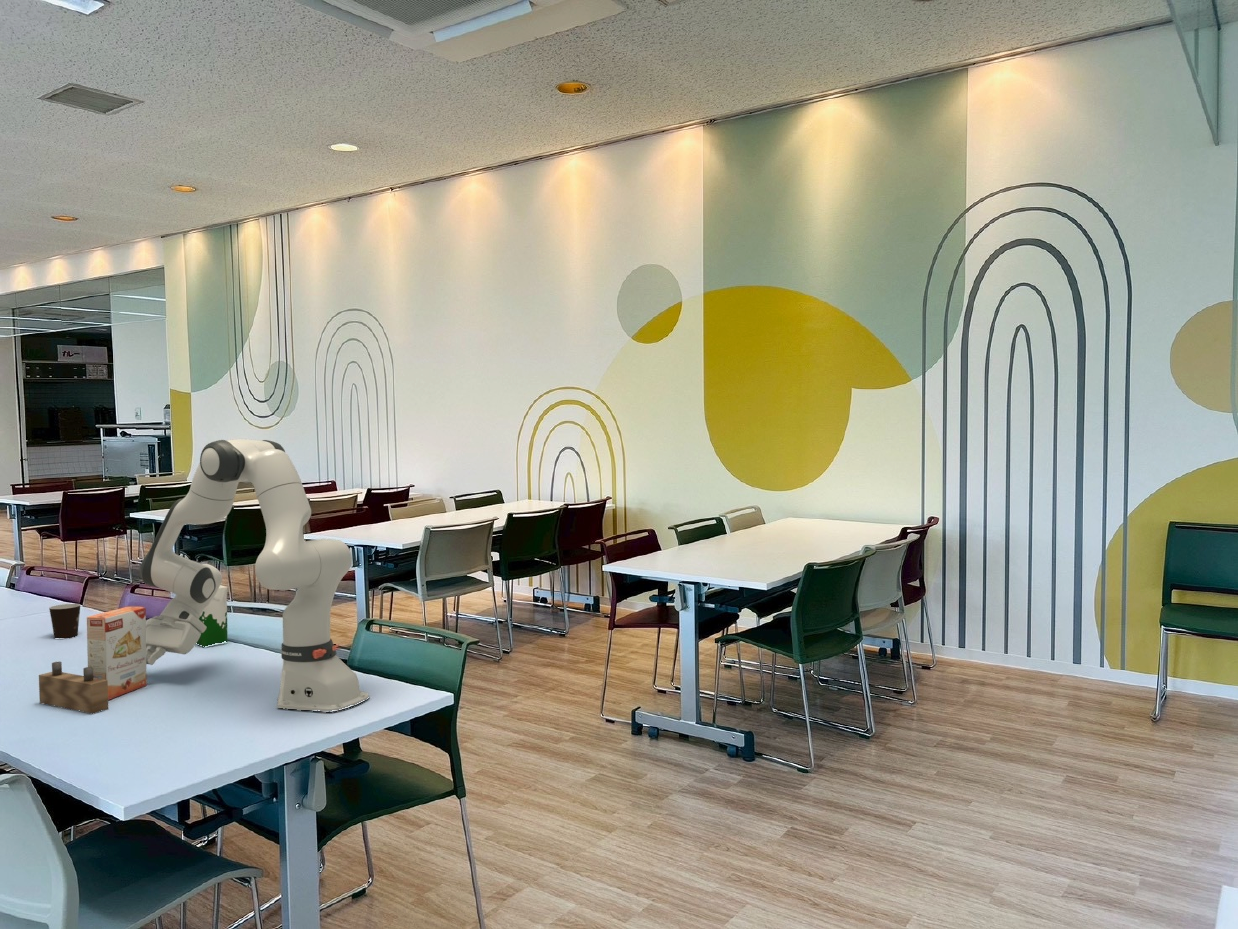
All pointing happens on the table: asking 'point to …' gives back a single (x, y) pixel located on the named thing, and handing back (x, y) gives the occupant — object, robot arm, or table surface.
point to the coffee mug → (65, 620)
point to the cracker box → (118, 649)
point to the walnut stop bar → (73, 690)
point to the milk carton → (215, 619)
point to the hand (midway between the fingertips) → (146, 663)
